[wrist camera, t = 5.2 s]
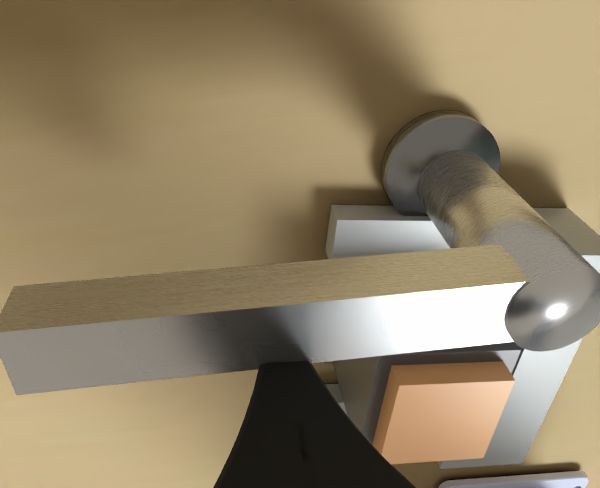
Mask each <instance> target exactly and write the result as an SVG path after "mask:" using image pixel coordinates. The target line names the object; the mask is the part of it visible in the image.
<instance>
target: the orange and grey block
mask: <svg viewBox="0 0 600 488" xmlns="http://www.w3.org/2000/svg"><path fill="white" fill-rule="evenodd" d="M520 352H521V349H520V348H519V346H518V345H517V344H516V343H515V342H505V343H495V344H486V345H477V346H467V347H458V348H449V349H440V350H430V351H421V352H412V353H402V354H393V355H384V356H375V357H365V358H356V359H347V360H338V361H335V362H334V367H335V371H336V375H337V379H338V383H339V386H340V390H341V394H342V398H343V401H344V405H345V409H346V413H347V416H348V417H349V418H350V420H351V421H352V422H353V423H354V425H355V426H356V427H357V428H358V429H359V431H360V432H361V433H362V434H363V435H364V436H365V437H366V439H367V440H368V441H369V442H370V443H371V444H372V445H373V446H374V447H375V449H376V450H377V451H378V452H379V453H380V454H381V455H382V456H383V457H384V458H385V459H386V460H387V461H388V462H389V463H390V464H404V463H419V462H433V461H448V460H463V459H477V458H484V455H485V453H486V450H487V448H488V445H489V443H490V441H491V438H492V436H493V433H494V431H495V429H496V426H497V424H498V421H499V419H500V417H501V414H502V412H503V409H504V407H505V404H506V402H507V400H508V397H509V395H510V392H511V390H512V388H513V385H514V383H515V379H514V377H513V376H512V371H513V369H514V366H515V364H516V361H517V359H518V357H519V354H520Z"/></svg>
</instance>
